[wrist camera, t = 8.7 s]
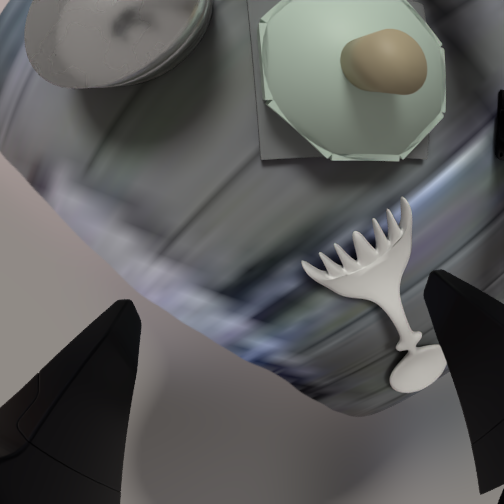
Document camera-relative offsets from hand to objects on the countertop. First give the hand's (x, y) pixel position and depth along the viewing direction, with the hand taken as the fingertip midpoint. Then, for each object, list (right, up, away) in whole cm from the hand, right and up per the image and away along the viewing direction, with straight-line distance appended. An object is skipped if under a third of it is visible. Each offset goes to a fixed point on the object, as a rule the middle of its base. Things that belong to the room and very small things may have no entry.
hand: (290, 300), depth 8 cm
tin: (-8, +16, +4) cm, 18 cm away
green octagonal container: (+5, +12, +6) cm, 15 cm away
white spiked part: (+15, -6, +20) cm, 25 cm away
